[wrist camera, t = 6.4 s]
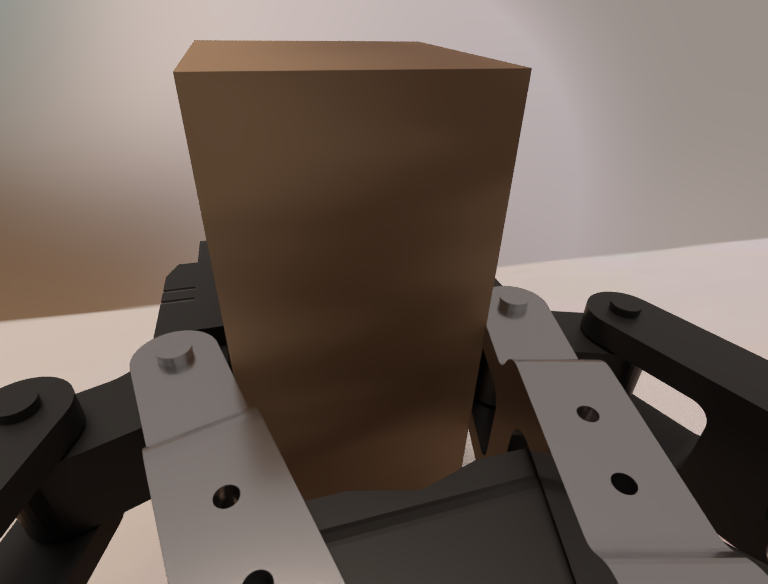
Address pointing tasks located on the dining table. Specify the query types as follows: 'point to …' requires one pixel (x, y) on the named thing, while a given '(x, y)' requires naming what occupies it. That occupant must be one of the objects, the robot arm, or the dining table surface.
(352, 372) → the pillar
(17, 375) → the dining table surface
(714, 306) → the dining table surface
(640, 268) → the dining table surface
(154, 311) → the dining table surface
